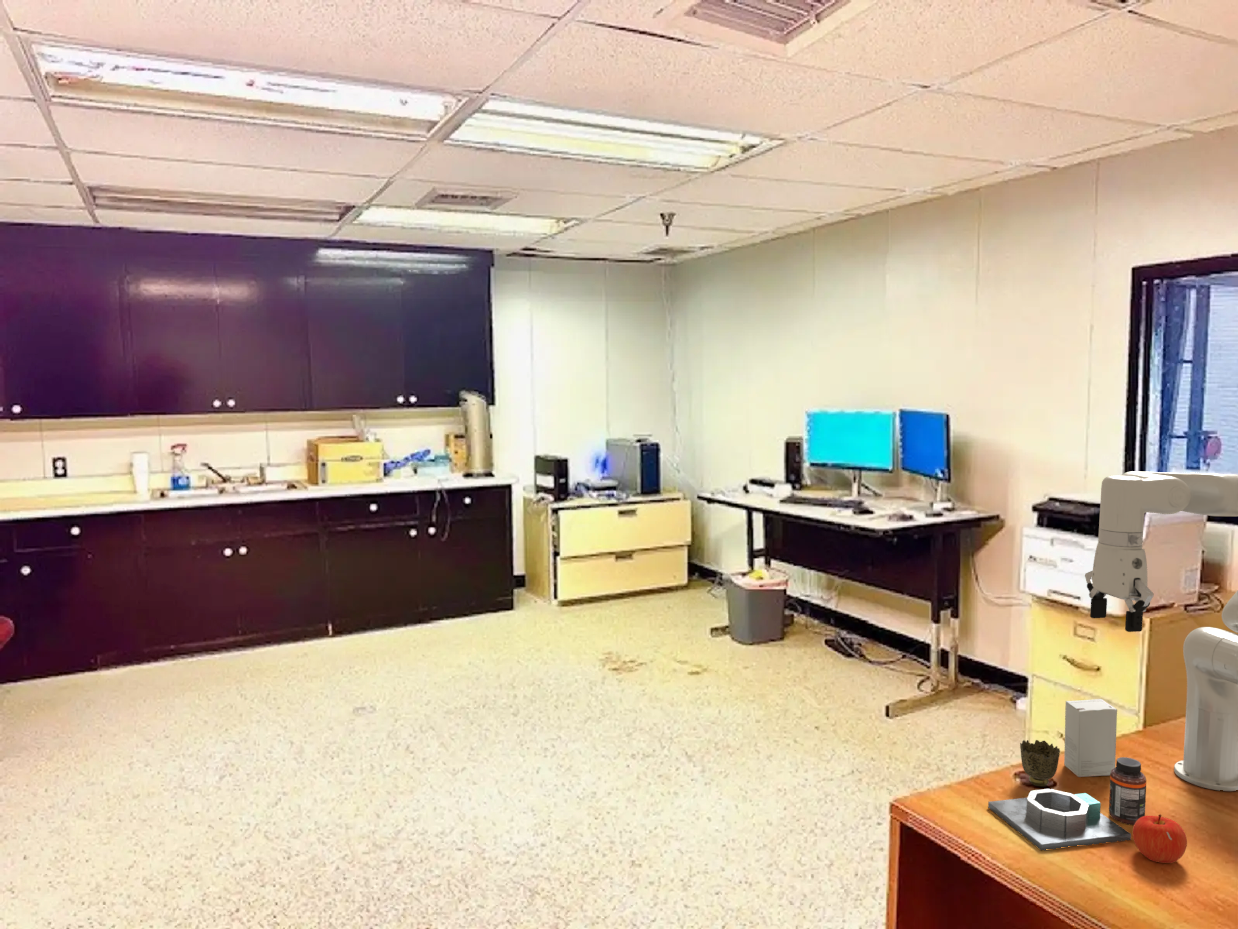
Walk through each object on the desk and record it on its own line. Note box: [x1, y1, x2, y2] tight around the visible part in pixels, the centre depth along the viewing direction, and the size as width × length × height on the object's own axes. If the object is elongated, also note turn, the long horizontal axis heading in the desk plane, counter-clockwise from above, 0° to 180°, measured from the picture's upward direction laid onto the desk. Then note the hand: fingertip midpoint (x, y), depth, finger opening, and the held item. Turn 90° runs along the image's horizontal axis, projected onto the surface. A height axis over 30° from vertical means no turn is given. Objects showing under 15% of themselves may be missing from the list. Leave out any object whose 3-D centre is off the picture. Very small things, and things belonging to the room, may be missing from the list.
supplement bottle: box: [1108, 756, 1147, 826], centre depth 165 cm, size 6×6×11 cm
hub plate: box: [988, 788, 1132, 851], centre depth 164 cm, size 18×16×4 cm
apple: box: [1132, 813, 1188, 864], centre depth 152 cm, size 8×8×8 cm
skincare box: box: [1063, 698, 1118, 778], centre depth 185 cm, size 8×6×15 cm
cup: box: [1019, 739, 1061, 787], centre depth 180 cm, size 8×7×8 cm
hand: (1115, 624), depth 173 cm, fingers open, 9 cm apart
